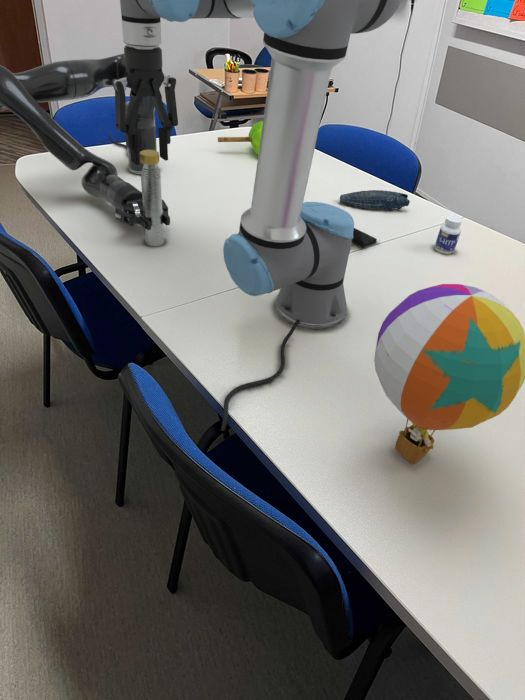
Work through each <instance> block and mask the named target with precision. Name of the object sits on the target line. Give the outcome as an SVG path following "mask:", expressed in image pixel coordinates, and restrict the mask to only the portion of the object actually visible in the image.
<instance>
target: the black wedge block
mask: <svg viewBox="0 0 525 700" xmlns="http://www.w3.org/2000/svg"><path fill="white" fill-rule="evenodd" d="M377 240H378V238H376V237H374V236H372V235H370V234H368V233H366V232H364V231H362V230H359V229H358V228H355V227H354V230H353V239H352V242H351V244H354V245H356V246H359V247H360V248H363V249H364V248H366V247H368V246H371V245H373V244H375V243H377Z"/></svg>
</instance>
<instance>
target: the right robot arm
mask: <svg viewBox="0 0 525 700" xmlns="http://www.w3.org/2000/svg"><path fill="white" fill-rule="evenodd" d="M402 1H403V0H119V4H120V5H119V6H120V15H121V28H122V29H121V30H122V42H123V43H124V44H126V45H124V47H123V54H124V56H125V66H126V73H125V76H124V78H121V79H119V80H116V79H113V80H112V84H113V86H112V87H113V90H114V105H115V106H114V109H115V111H114V112H115V114H114V115H115V118H114V119H115V121H114V122H115V129H116V130H118V131H119V132H120V133H124V138H125V145H126V146H127V148H129V149H130V153H131V161H132V162H133V163H134V164H136V165H139V152H138V139H137V134H136V133H134V128H135V124H136V119H137V115H138V110H139V106H140V102H141V101H142V97H146V96H151V98H152V100H153V103H154V106H155V112H156V114H157V117H158V120H159V122H160V126H161V127H158V129H157V130H158V131H157V132H158V146H159V147H158V149H159V151H158V152H159V158H160V159H162V160H164V161H169V149H168V145H170V144H171V139H172V138H171V132H172V131H173V128H174V127H177V126H178V125H179V118H178V109H177V98H176V86H177V79H176V77H174V76H171V75H165V73H164V72H163V50H162V48H161V47H160V46H161V45H162V26H161V25H162V23H161V22H162V21H161V19H163V20H166V21H168V22H171V23H173V22H176V23H185V22H188V21H189V20H194V19H195V20H196V19H197V20H199V19H200V20H201V19H231V20H232V19H234V20H235V19H236V20H238V19H243V18H245V19H246V18H248V19H249V18H253V19H254V20H255V23H256V24H257V27H259V29H260V30H261V31H262V32H263V38H262V44H263V45H264V47H265V49H266V50H267V51H268V53H269V55H270V57H271V61H270V62H271V63H270V69H269V75H268V82H267V90H266V98H265V104H264V112H263V120H262V121H263V125H262V133H261V140H260V147H259V154H258V155H257V163H256V170H255V176H254V184H253V193H252V198H251V205H250V206H251V207H249V208H248V209H246V210H244V211H243V213H242V214H241V215H240V222H239V230H238V233H231V235H230V236H229V237H227V238H226V239H225V241H224V244H223V246H222V247H223V248H222V254H223V260H224V265H225V268H226V270H227V272H228V274H229V276H230V278H231V280H232V281H233V283H234V284H235V286H236V287H237V288H238V289H239V290H241V292H242V293H244V294H246V295H248V296H251V297H258V296H262V295H267V294H271V293H273V292H275V291H277V290H279V291H278V294H277V296H276V300H275V311H276V313H277V315H278V316H279V317H280V318H281V319H282V320H283V321H284V322H286V323H287V324H289V325H291V326H292V327H291V328H290V330H289V331H288V333H287V334H286V335H285V337H284V339H283V341H282V343H281V345H280V351H279V353H280V355H279V356H280V365H279V368H278V370H277V371H276V372H275V373H274V374H272V375H271V376H269V377H267V378H263V379H259V380H255V381H251V382H246V383H243V384H240V385H238V386H235V387H234V388H233V389H232V390H230V391H229V393H228V394H227V395H226V396H225V398H224V401H223V417H222V423H221V427H220V431H221V432H225V431H226V428H227V424H228V418H229V402H230V400H231V398H232V397H233V396H234V395H235V394H236V393H238V392H240V391H242V390H244V389H247V388H250V387H255V386H260V385H264V384H267V383H270V382H272V381H274V380H276V379H277V378H278V377H279V376H281V374H282V373H283V372H284V369H285V365H286V364H285V363H286V360H285V359H286V358H285V350H286V349H285V348H286V345H287V343H288V341H289V340H290V338H291V336H292V335H293V334H294V332H295V331H296V329H297V328H300V329H304V330H310V331H324V330H325V331H326V330H329V329H333V328H336V327H337V326H339V325H340V324H342V323H343V322H344V320H345V318H346V315H347V310H348V307H347V306H348V305H347V297H346V292H345V286H344V280H345V275H346V271H347V267H348V262H349V257H350V253H351V252H350V251H351V247H352V239H353V230H354V228H355V221H354V218H353V215H351V214H350V213H349V212H348V211H346V210H345V209H343V208H340V207H339V206H335V205H333V204H329V203H324V202H319V201H304V200H305V195H306V192H307V186H308V182H309V181H308V180H309V177H310V172H311V168H312V163H313V158H314V154H315V149H316V145H317V139H318V136H319V135H318V134H319V130H320V126H321V120H322V117H323V111H324V108H325V107H324V106H325V101H326V97H327V94H328V93H327V92H328V87H329V83H330V78H331V75H332V74H331V73H332V70H333V68H334V67H336V66H338V64H340V63H341V62H343V61H344V60H345V59H346V57H347V51H348V47H349V44H350V43H349V42H350V38H351V35H352V34H353V35H356V34H363V33H368V32H372V31H374V30H376V29H379V28H380V27H382V26H383V25H384V24H386V23H387V22H388V21H389V20H390V19H391V18H392V17H393V16H394V15H395V13H396V12H397V11H398V9H399V7H400V5H401V3H402ZM126 84H128V85H129V87H130V88H129V89H130V92H129V100H128V101H129V106H128V110H127V115H126V111H125V103H126V90H127V87H126ZM162 84H163V86H164V97H165V104H166V105H165V104H164V101H163V95H162V93H161V90H160V88H161V87H162ZM165 107H166V108H165ZM127 148H126V149H127Z"/></svg>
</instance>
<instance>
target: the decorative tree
mask: <svg viewBox="0 0 525 700" xmlns="http://www.w3.org/2000/svg"><path fill="white" fill-rule="evenodd" d="M262 125H263V120H260V121H258V122H256V123H254V124H252V125H251V128H250V130H249V133H248V136H218V137H217V143H250V144H251V147H252V149H253V151H254V153H255V155H257V156H258V154H259V147H260V140H261V133H262Z"/></svg>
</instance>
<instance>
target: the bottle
mask: <svg viewBox="0 0 525 700" xmlns="http://www.w3.org/2000/svg"><path fill="white" fill-rule="evenodd" d="M143 165H144V167H143V169H142V172H141V175H140V183H141V192H142V199H143V213H144V217H145V218H146V219H147V220H149V221H150V223H151V230H147V229H144V237H145V244H146V245H147V246H150V247H160V246H163V245H164V243H165V239H164V238H165V237H164V223H163V214H162V200H163V198H162V197H163V196H162V195H163V194H162V178H161V177H162V176H161V173H160V171H159V166H158V167H157V164H155V165H146V164H143Z"/></svg>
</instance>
